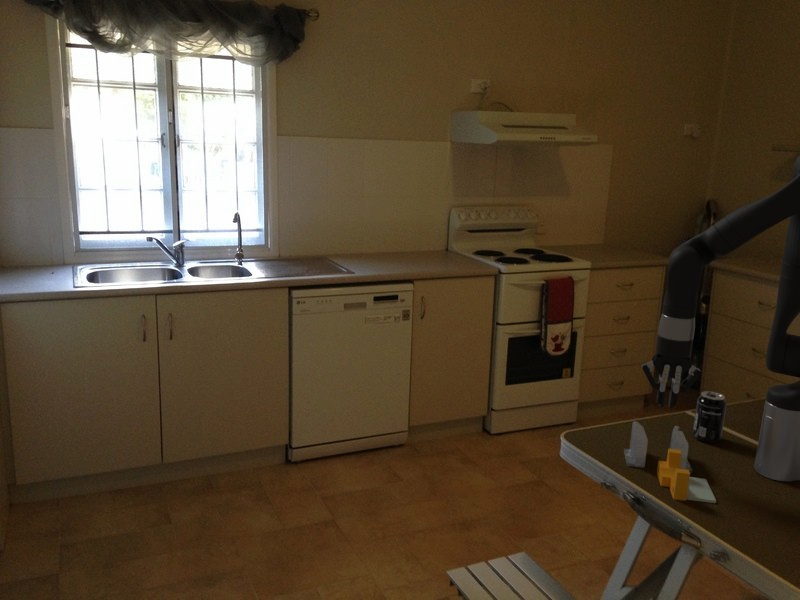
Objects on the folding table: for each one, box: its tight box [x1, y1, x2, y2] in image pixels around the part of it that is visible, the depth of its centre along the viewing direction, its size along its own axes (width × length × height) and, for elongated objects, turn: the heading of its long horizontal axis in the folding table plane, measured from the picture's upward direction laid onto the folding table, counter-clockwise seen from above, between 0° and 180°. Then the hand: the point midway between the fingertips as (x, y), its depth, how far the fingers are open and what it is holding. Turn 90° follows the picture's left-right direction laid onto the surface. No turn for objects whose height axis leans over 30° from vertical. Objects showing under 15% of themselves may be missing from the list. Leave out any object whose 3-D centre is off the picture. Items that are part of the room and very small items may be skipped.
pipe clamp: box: [656, 448, 691, 502], centre depth 159 cm, size 12×4×6 cm, turn 169°
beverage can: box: [692, 390, 727, 444], centre depth 184 cm, size 7×7×12 cm
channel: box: [623, 420, 693, 475], centre depth 171 cm, size 14×11×7 cm
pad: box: [686, 476, 717, 504], centre depth 158 cm, size 6×10×1 cm, turn 169°
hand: (665, 406), depth 166 cm, fingers closed
